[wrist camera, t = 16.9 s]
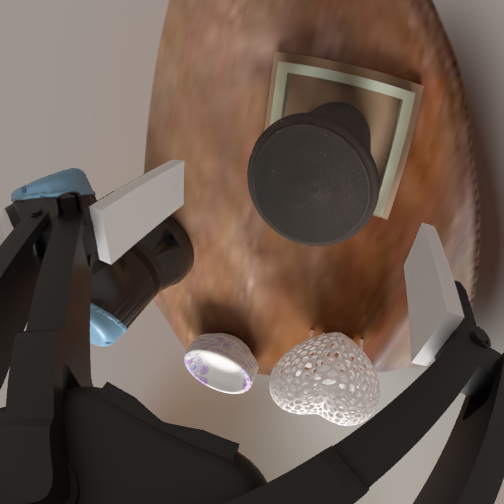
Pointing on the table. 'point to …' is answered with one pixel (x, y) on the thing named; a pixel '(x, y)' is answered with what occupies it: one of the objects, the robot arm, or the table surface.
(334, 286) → the table surface
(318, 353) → the decorative heart
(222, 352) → the paper bowls
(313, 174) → the container
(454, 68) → the table surface
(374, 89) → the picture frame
